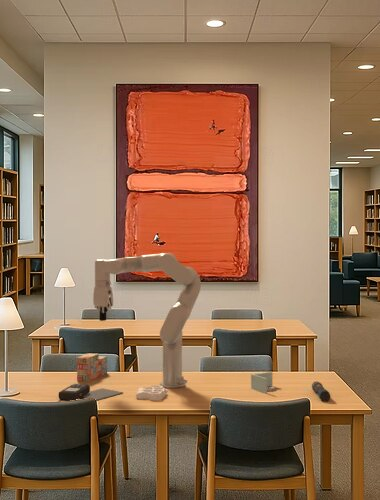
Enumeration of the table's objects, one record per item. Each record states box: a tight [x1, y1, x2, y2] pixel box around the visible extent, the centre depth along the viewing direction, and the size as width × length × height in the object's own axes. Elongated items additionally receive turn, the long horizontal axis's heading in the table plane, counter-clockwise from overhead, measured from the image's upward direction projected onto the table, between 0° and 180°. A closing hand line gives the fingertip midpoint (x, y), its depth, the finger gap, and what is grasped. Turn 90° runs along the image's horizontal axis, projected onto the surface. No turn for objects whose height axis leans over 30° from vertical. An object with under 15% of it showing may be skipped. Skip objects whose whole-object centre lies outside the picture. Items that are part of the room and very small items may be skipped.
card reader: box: [58, 383, 91, 401], centre depth 347 cm, size 9×4×15 cm
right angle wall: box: [250, 371, 276, 394], centre depth 360 cm, size 12×12×8 cm
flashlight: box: [311, 381, 331, 402], centre depth 347 cm, size 5×22×5 cm, turn 1°
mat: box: [80, 388, 124, 402], centre depth 351 cm, size 14×18×1 cm
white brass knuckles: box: [135, 384, 169, 401], centre depth 349 cm, size 3×18×15 cm
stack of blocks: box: [76, 352, 108, 382], centre depth 391 cm, size 21×6×12 cm, turn 158°
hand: (103, 320), depth 373 cm, fingers closed
